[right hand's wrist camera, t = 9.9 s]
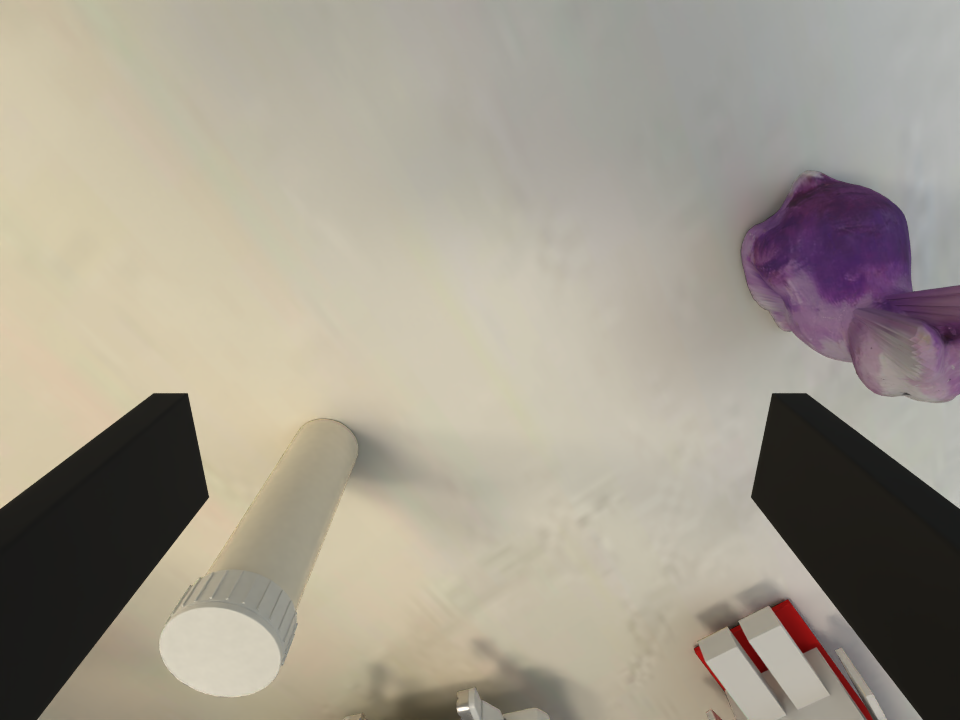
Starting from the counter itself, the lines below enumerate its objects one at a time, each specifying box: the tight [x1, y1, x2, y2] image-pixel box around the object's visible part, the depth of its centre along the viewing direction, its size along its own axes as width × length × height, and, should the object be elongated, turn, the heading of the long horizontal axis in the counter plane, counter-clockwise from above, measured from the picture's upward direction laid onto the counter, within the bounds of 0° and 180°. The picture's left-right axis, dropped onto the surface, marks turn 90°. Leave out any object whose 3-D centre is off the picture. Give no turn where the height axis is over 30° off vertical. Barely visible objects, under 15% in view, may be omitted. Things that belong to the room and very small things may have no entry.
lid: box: [159, 569, 298, 697], centre depth 26 cm, size 6×6×2 cm
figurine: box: [741, 171, 960, 403], centre depth 30 cm, size 9×10×15 cm
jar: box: [205, 419, 358, 610], centre depth 34 cm, size 5×5×18 cm
